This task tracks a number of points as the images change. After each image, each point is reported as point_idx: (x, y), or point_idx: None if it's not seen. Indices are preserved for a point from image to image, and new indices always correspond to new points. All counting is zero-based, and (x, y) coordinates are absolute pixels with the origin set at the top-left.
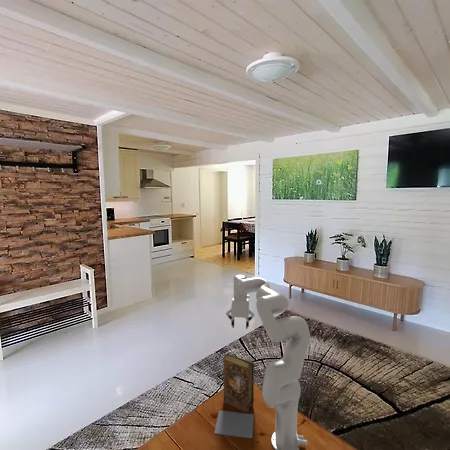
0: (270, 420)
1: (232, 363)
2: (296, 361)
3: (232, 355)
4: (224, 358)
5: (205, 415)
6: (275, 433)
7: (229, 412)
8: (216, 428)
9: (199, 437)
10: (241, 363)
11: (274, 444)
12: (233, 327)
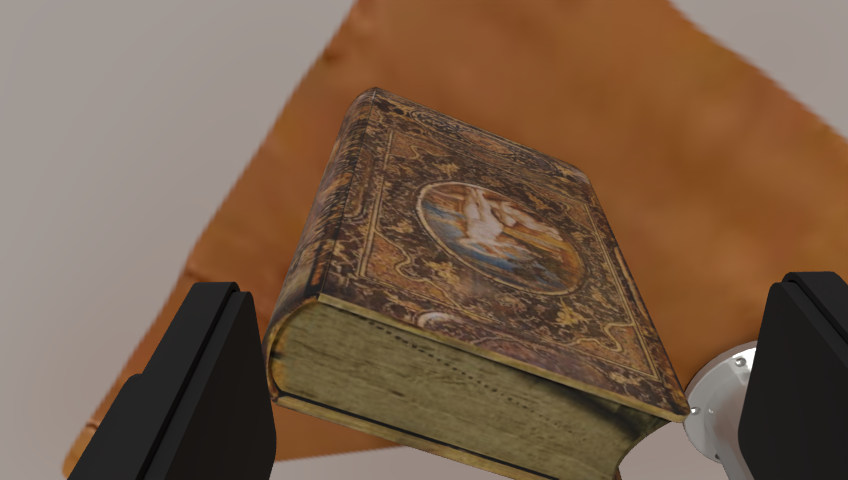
0: (698, 264)
1: (405, 432)
2: None
3: (375, 316)
4: (274, 370)
5: (253, 291)
6: (721, 460)
7: None
8: None
9: (276, 424)
10: (524, 432)
11: (696, 435)
12: (267, 456)
